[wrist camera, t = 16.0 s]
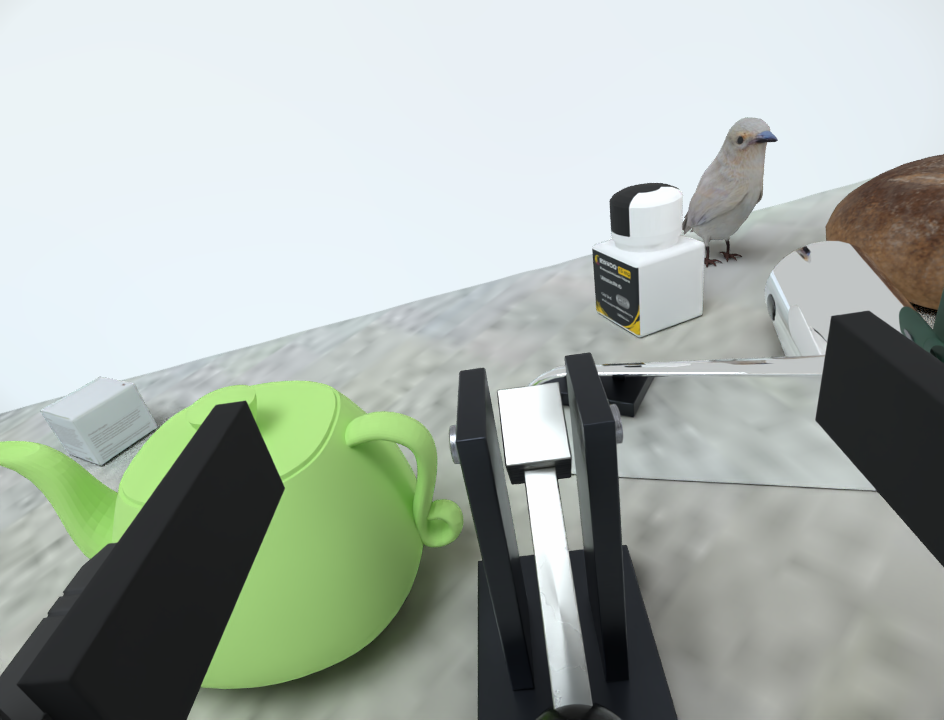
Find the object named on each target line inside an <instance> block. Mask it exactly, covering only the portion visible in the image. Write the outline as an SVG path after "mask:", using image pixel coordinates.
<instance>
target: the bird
mask: <svg viewBox="0 0 944 720" xmlns="http://www.w3.org/2000/svg"><path fill="white" fill-rule="evenodd" d="M776 141H777V138H776V137H775V136H774V135H773V134H772V133H771V132H770V128H769V126H768V125H767V124H766V122H764V121H763V120H762V119H758V118H743V119H741V120H739V121H738V122H736V123H735V124H734V125H733V126H732V127H731V129H730V130H729V132H728V134H727V136H726V139H725V141H724V144H723V146H722V148H721V150H720V152H719V153H718V155H717V156H716V158H715V159H714V161H713V162H712V163H711V164H710V166H709V167H708V168H707V169H706V170H705V172H704V174H703V175H702V178H701V180H700V182H699V184H698V187H697V189H696V192H695V193H694V195H693V197H692V199H691V201H690V204H689V210H688V212H687V214H686V216H685V217H684V218H685V220H684V221H683V223H682V225H683V226H682V230H684V234H686V232H687V231H689V230H690V229H691V228H692V230H691V232H693V231H694V232H695V233H696V234H697V235H699V236H700V237H702V238H703V239H704V244H705V247H706V251H707V254H706V258H704V264H706V267H708V264H710V263H712V264H714V265H715V266H716V264H715V263H714V262H716V261H718V262H721V261H719V260H716V259H713V260H710V259H709V247H708V245H709V242H710V240H722V239H725V241H726V244H727V251H726V253H725V252H720V253H722V254H723V255H724V258H726V260H727V262H728V258H734V259H735V260H736V258H735V257H734V256H740V257H742V256H741V255H738V254H729V249H730V244H729V239H730V236H731V235H733V234H734V233H735V232H736V231H737V230H738V229H739V227H740V226H741V225H742V224H743V222H744V221H745V220H746V219H747V218H748V216H749V215H750V213H751V212H752V210H753V209H754V207H755V205H756V204H757V203H758V202H759V201H760V200H761V198H762V195H763V174H764V159H765V150H766V145H767V142H776ZM736 261H737V260H736ZM721 263H722V262H721Z"/></svg>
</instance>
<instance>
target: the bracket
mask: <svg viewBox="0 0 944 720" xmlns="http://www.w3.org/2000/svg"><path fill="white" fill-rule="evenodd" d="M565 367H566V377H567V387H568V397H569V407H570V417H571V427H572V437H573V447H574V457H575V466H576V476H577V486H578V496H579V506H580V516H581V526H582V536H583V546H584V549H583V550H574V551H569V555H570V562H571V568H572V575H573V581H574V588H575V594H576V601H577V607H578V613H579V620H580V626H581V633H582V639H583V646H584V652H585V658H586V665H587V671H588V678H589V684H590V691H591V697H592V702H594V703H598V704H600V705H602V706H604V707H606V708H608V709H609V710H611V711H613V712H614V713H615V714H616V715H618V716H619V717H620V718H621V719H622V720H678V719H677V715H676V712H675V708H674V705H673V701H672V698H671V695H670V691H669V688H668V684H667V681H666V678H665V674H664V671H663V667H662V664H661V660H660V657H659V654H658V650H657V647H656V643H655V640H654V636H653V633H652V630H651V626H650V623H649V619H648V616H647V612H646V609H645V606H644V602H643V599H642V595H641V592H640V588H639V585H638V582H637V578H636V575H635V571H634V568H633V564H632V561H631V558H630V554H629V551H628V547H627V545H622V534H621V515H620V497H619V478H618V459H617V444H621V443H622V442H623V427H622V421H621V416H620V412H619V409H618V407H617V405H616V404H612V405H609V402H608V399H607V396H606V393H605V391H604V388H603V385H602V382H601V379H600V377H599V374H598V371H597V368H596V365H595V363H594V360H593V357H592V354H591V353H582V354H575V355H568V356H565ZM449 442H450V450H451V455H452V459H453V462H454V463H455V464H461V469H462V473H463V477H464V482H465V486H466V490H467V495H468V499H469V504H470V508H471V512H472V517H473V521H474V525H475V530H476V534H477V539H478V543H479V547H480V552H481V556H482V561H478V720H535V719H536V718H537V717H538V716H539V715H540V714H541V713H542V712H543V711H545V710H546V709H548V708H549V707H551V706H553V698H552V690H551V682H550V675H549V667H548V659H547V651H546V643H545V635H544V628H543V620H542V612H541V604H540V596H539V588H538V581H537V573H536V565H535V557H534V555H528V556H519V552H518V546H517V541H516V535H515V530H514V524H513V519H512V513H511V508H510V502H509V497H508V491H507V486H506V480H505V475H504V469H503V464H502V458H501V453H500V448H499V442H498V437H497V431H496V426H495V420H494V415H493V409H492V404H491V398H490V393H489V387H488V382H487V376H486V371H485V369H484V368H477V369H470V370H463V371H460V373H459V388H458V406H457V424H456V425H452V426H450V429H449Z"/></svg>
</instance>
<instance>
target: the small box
mask: <svg viewBox="0 0 944 720" xmlns="http://www.w3.org/2000/svg"><path fill="white" fill-rule="evenodd" d="M40 412H41V413H42V415H43V417H44V418H45V420H46V421H47V423H48V424H49V426H50V427H51V429H52V430H53V432H54V433H55V435H56V436H57V438H58V439H59V441H60V442H61V444H62V445H63V447H64V448H65V450H66V451H67V453H68V454H71V455H73V456H76V457H79V458H82V459H85V460H87V461H90V462H92V463H95V464H98V465H102V464H104V463H105V462H107V461H108V460H110V459H111V458H112V457H114V456H115V455H117V454H118V453H120V452H121V451H123V450H124V449H126V448H127V447H129V446H130V445H132V444H133V443H135V442H136V441H138V440H139V439H141V438H142V437H144V436H145V435H147V434H148V433H150V432H151V431H153V430H154V429H156V428H157V427H158V426H157V425H156V423H155V421H154V419H153V417H152V415H151V413H150V411H149V410H148V408H147V406H146V404H145V402H144V400H143V398H142V397H141V395H140V393H139V391H138V389H137V387H136V385H135V384H134V383H130V382H125V381H120V380H115V379H110V378H104V377H98V378H97V379H95V380H93V381H92V382H90V383H88V384H86V385H85V386H83V387H81V388H79V389H78V390H76V391H74V392H72V393H70V394H69V395H67V396H65V397H63V398H61V399H60V400H58V401H56V402H54V403H52V404H51V405H49V406H47V407H45V408H43V409H41V410H40Z"/></svg>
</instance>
